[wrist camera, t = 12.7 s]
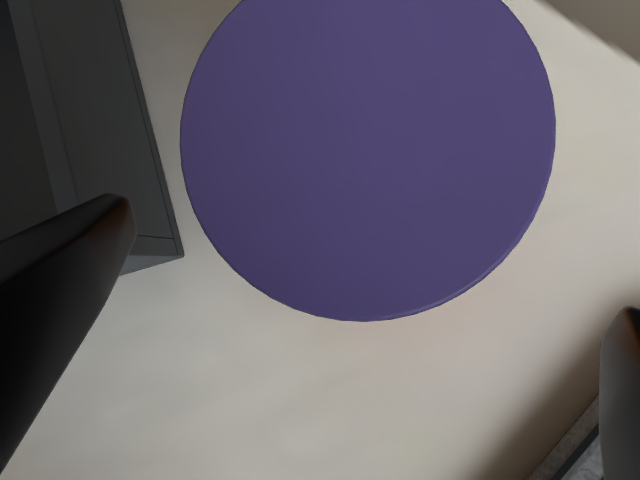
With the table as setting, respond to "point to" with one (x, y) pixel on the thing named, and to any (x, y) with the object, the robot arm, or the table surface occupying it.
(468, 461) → the table surface
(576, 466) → the phone
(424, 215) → the glue stick
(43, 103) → the organizer
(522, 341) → the table surface
